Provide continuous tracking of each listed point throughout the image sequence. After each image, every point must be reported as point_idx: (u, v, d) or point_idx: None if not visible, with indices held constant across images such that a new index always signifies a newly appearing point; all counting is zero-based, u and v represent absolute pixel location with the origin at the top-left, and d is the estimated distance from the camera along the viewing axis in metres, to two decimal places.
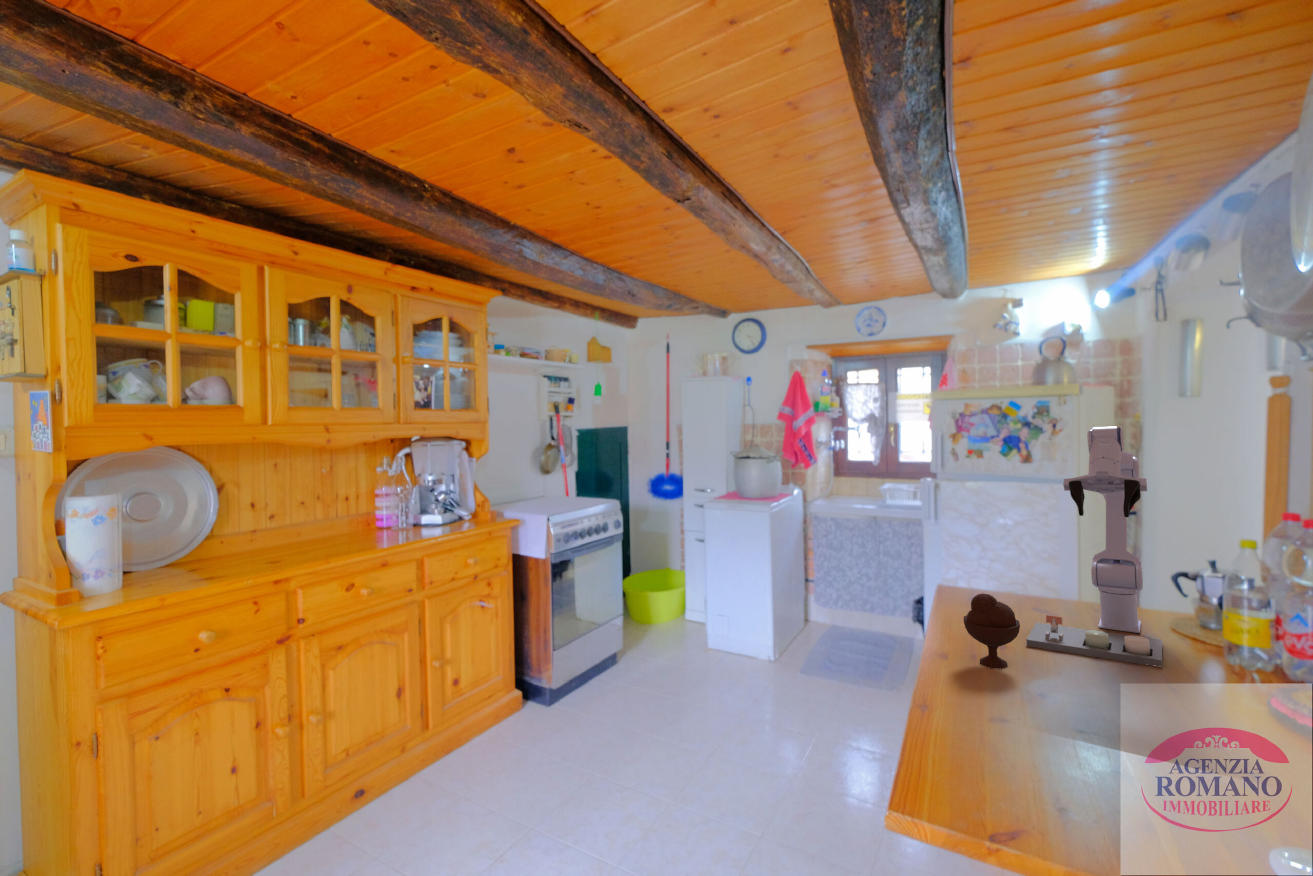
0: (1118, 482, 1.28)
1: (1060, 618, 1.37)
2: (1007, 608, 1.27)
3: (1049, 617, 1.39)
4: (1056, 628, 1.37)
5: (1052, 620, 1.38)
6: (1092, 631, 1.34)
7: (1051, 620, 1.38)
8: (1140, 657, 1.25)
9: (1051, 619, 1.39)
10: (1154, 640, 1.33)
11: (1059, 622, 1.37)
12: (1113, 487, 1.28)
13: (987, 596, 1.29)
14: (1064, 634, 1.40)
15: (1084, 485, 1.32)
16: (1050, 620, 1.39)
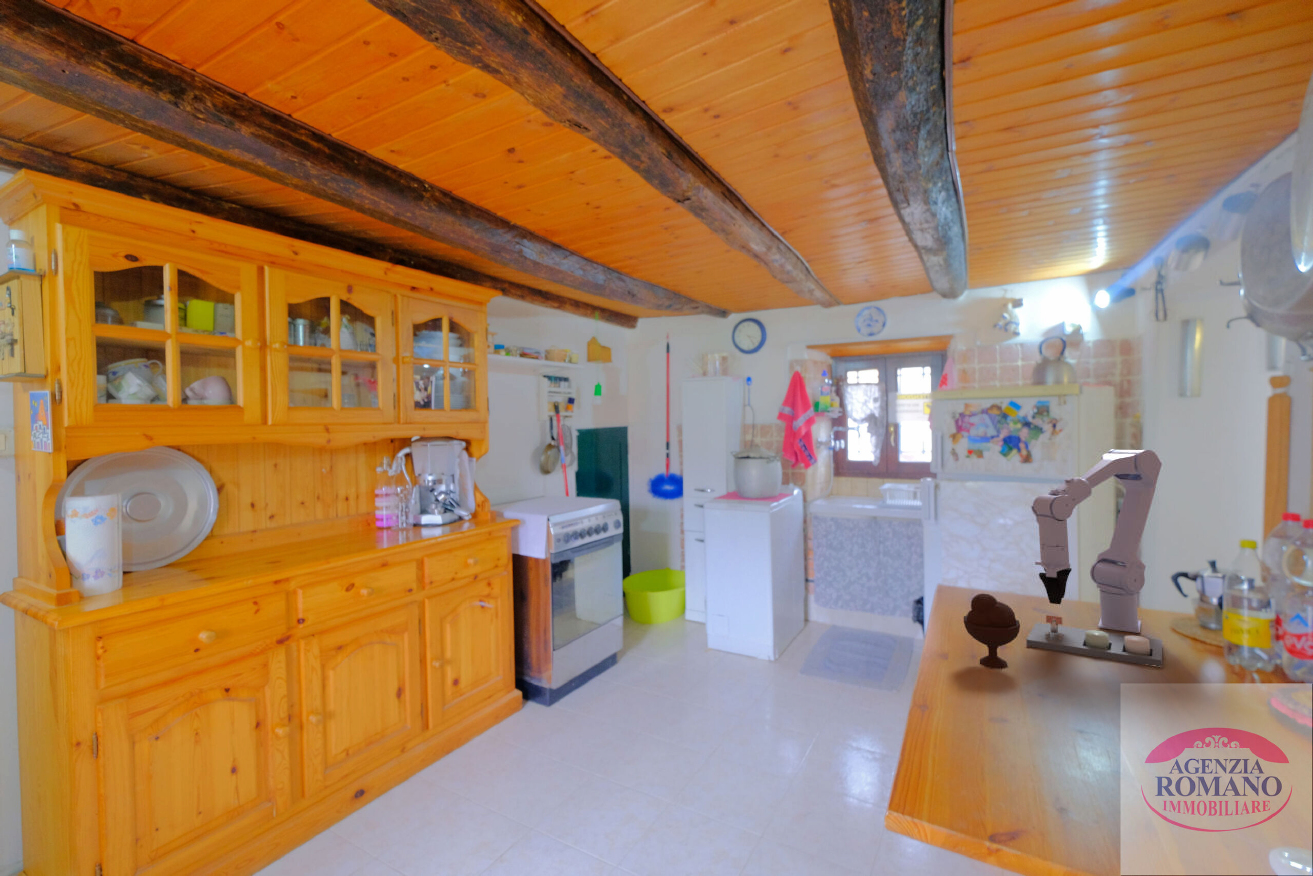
0: None
1: (1060, 618, 1.37)
2: (1007, 608, 1.27)
3: (1049, 617, 1.39)
4: (1056, 628, 1.37)
5: (1052, 620, 1.38)
6: (1092, 631, 1.34)
7: (1051, 620, 1.38)
8: (1140, 657, 1.25)
9: (1051, 619, 1.39)
10: (1154, 640, 1.33)
11: (1059, 622, 1.37)
12: None
13: (987, 596, 1.29)
14: (1064, 634, 1.40)
15: None
16: (1050, 620, 1.39)
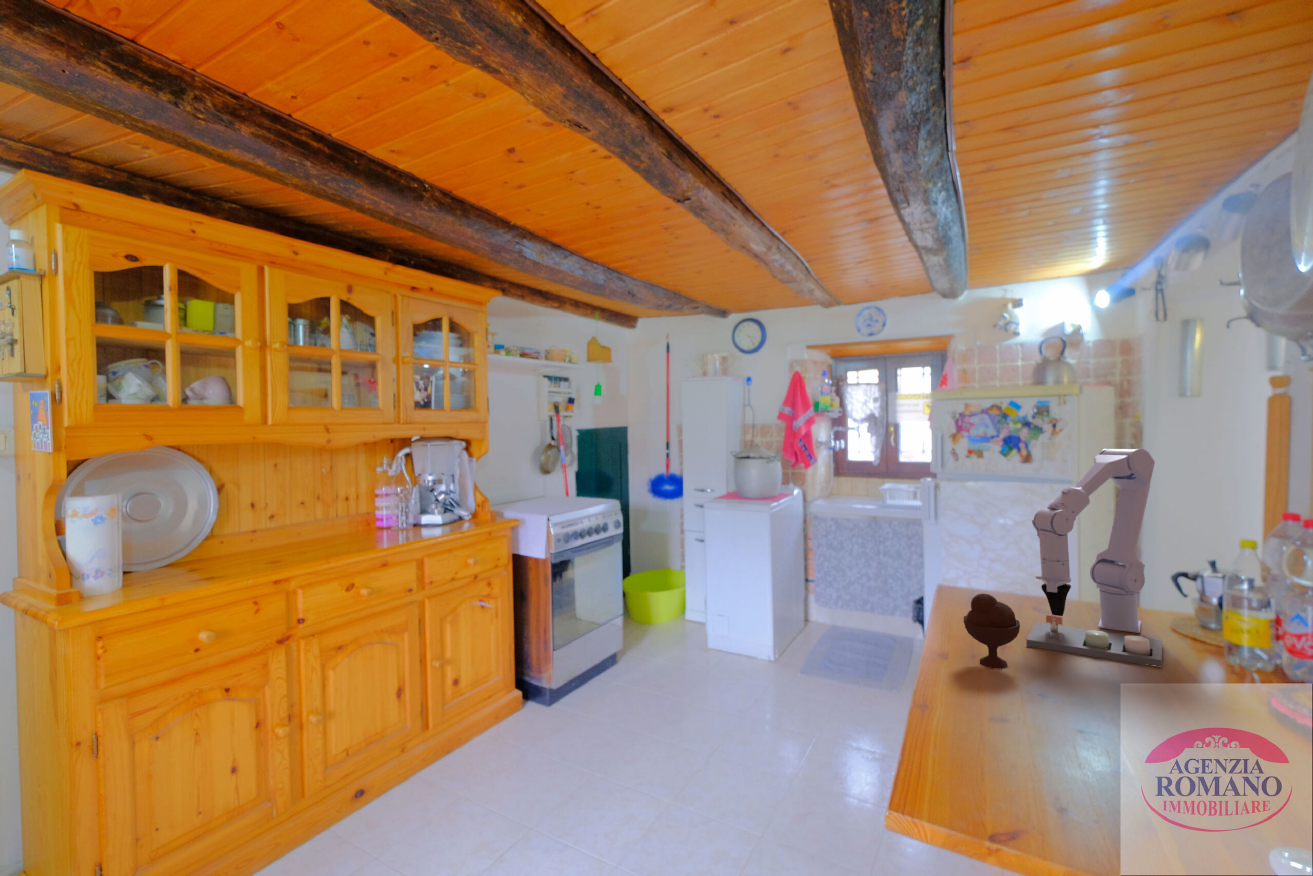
0: None
1: (1060, 618, 1.37)
2: (1007, 608, 1.27)
3: (1049, 617, 1.39)
4: (1056, 628, 1.37)
5: (1052, 620, 1.38)
6: (1092, 631, 1.34)
7: (1051, 620, 1.38)
8: (1140, 657, 1.25)
9: (1051, 619, 1.39)
10: (1154, 640, 1.33)
11: (1059, 622, 1.37)
12: None
13: (987, 596, 1.29)
14: (1064, 634, 1.40)
15: None
16: (1050, 620, 1.39)
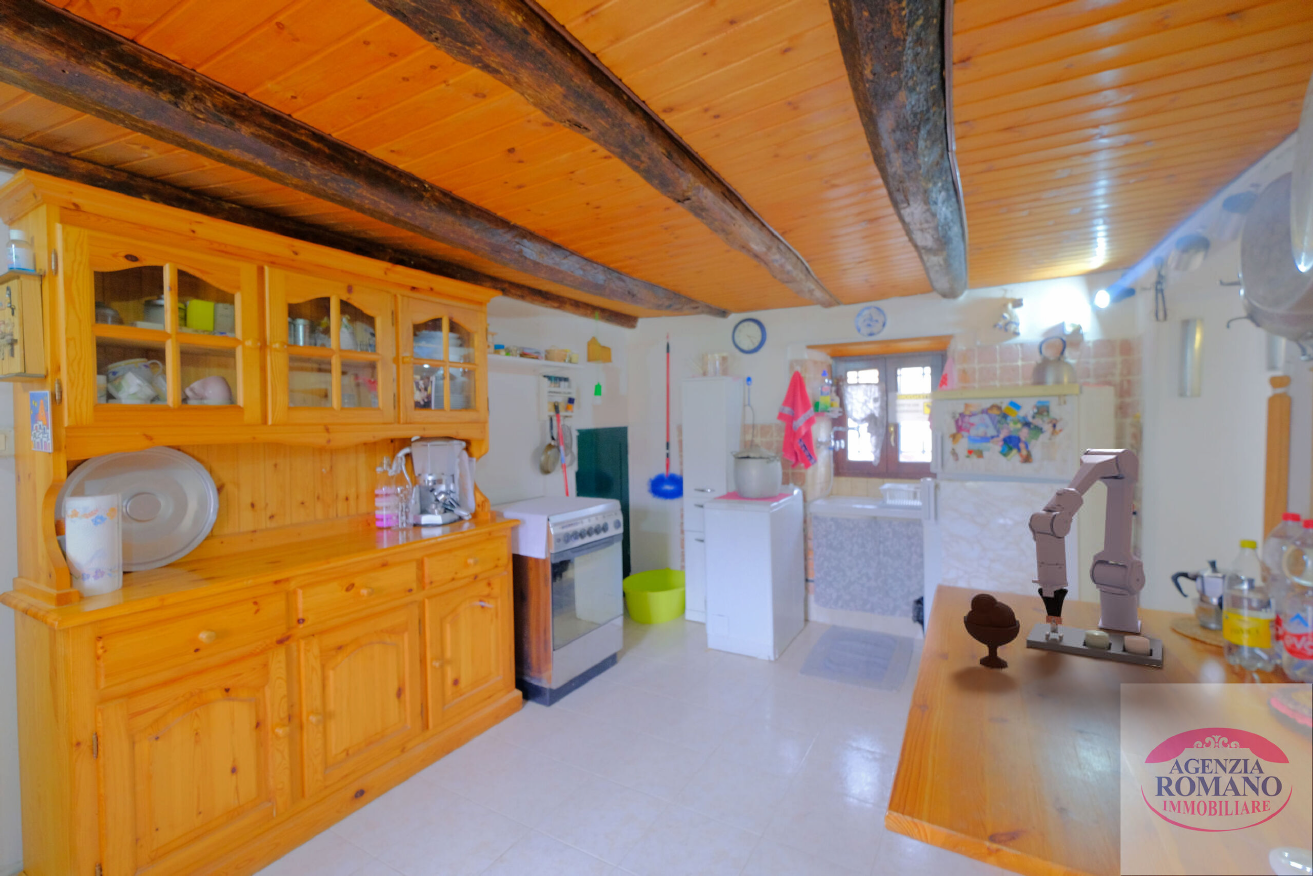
0: None
1: (1060, 618, 1.37)
2: (1007, 608, 1.27)
3: (1049, 617, 1.39)
4: (1056, 628, 1.37)
5: (1052, 620, 1.38)
6: (1092, 631, 1.34)
7: (1051, 620, 1.38)
8: (1140, 657, 1.25)
9: (1050, 619, 1.39)
10: (1154, 640, 1.33)
11: (1059, 622, 1.37)
12: None
13: (987, 596, 1.29)
14: (1064, 634, 1.40)
15: None
16: (1050, 620, 1.38)
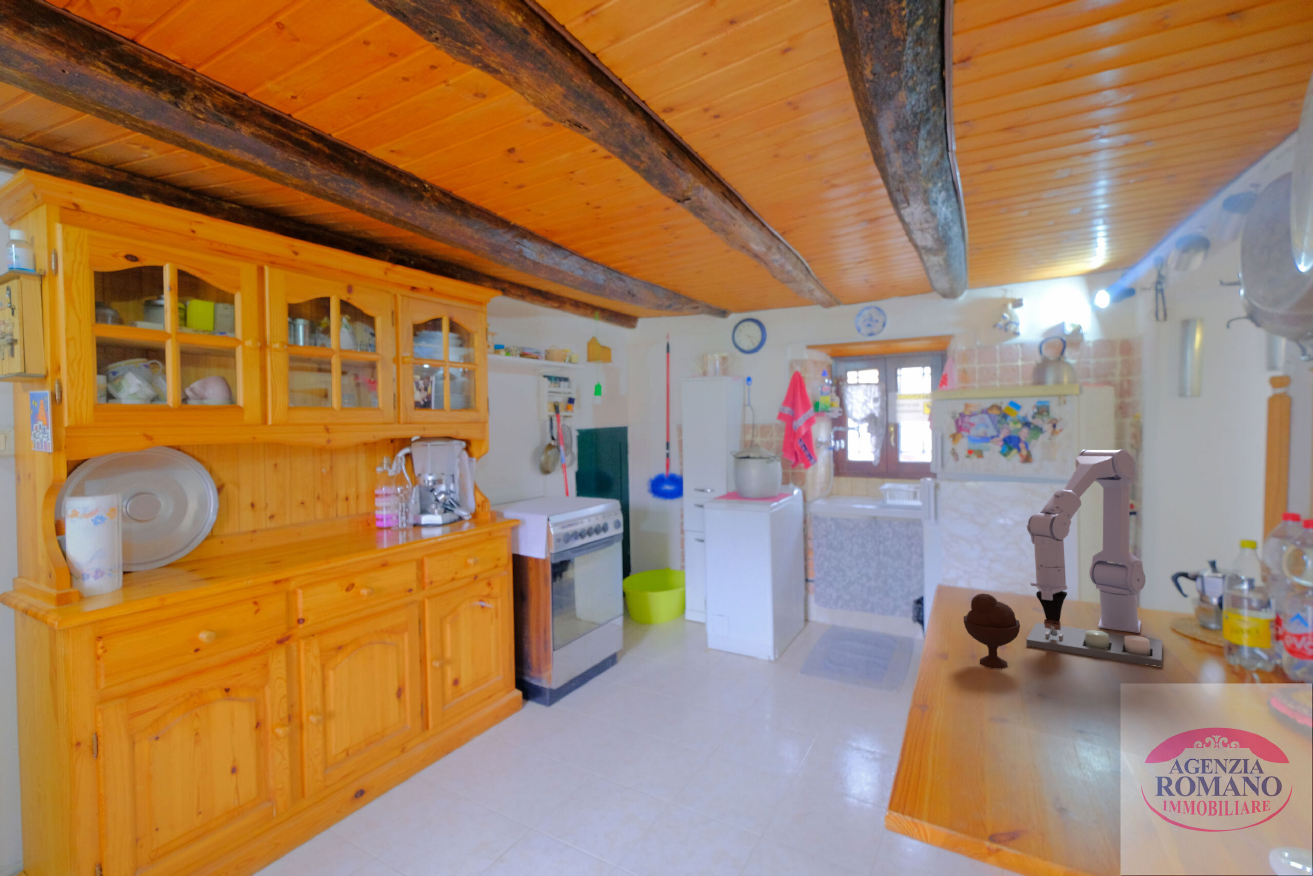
0: None
1: (1058, 625, 1.35)
2: (1007, 608, 1.27)
3: (1047, 624, 1.36)
4: (1055, 632, 1.36)
5: (1050, 627, 1.36)
6: (1092, 631, 1.34)
7: (1049, 627, 1.36)
8: (1140, 657, 1.25)
9: (1049, 625, 1.36)
10: (1154, 640, 1.33)
11: (1058, 628, 1.35)
12: None
13: (987, 596, 1.29)
14: (1064, 634, 1.40)
15: None
16: (1048, 626, 1.36)
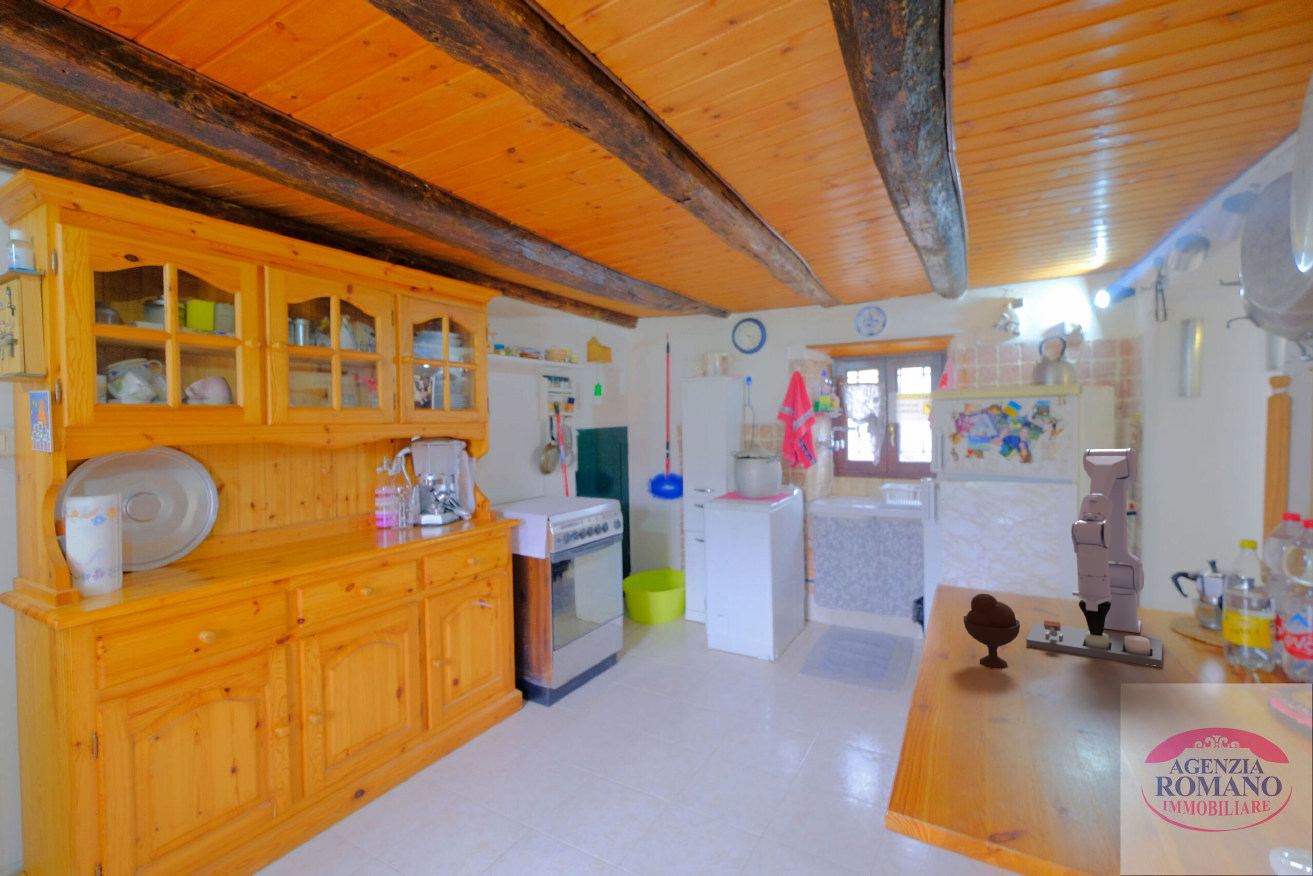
0: None
1: (1058, 627, 1.35)
2: (1007, 608, 1.27)
3: (1047, 626, 1.36)
4: (1055, 633, 1.36)
5: (1050, 628, 1.36)
6: None
7: (1049, 628, 1.36)
8: (1140, 657, 1.25)
9: (1049, 626, 1.36)
10: (1154, 640, 1.33)
11: (1058, 630, 1.35)
12: None
13: (987, 596, 1.29)
14: (1064, 634, 1.40)
15: None
16: (1048, 628, 1.36)
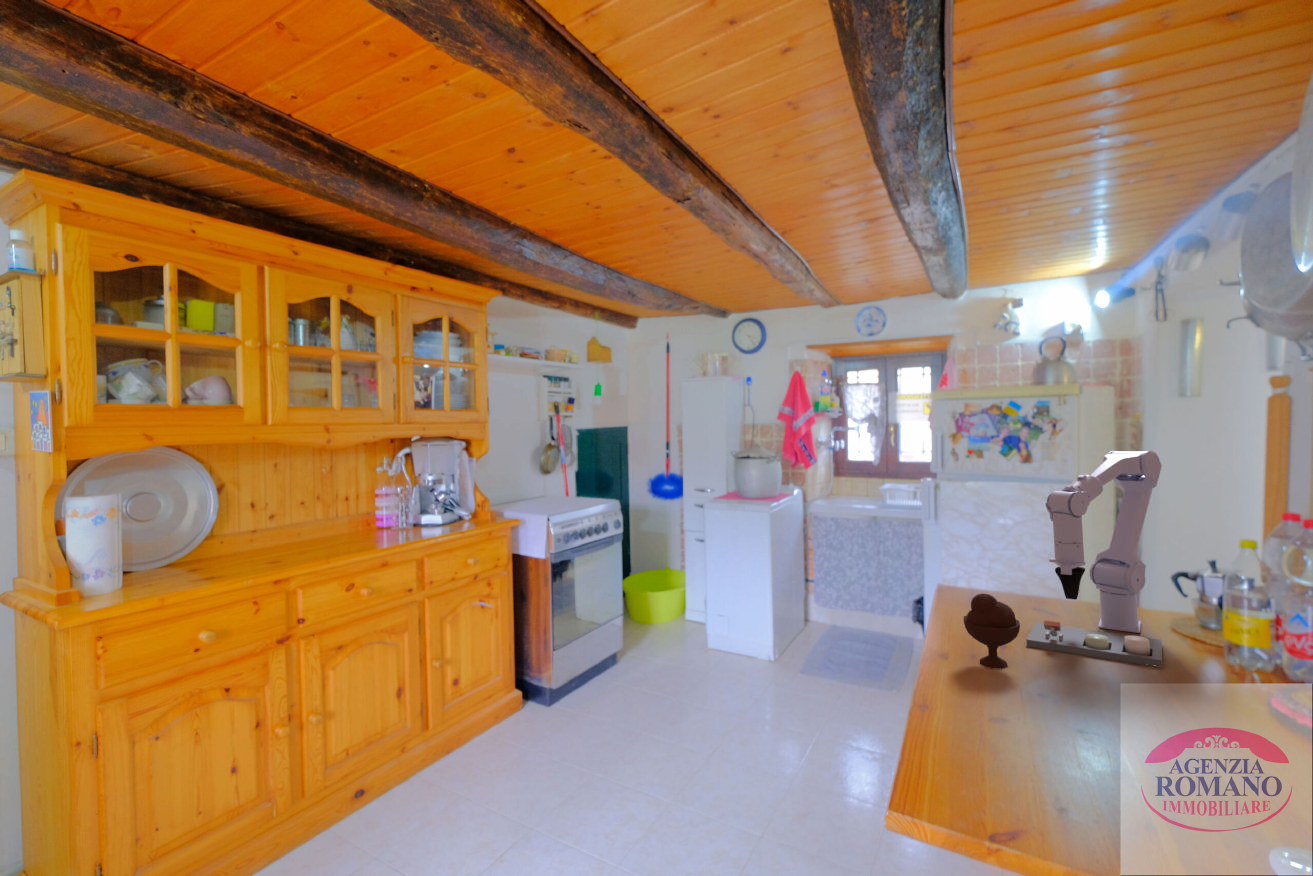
0: None
1: (1058, 627, 1.35)
2: (1007, 608, 1.27)
3: (1047, 626, 1.36)
4: (1055, 633, 1.36)
5: (1050, 628, 1.36)
6: (1092, 635, 1.34)
7: (1049, 628, 1.36)
8: (1140, 657, 1.25)
9: (1049, 626, 1.36)
10: (1154, 640, 1.33)
11: (1058, 630, 1.35)
12: None
13: (987, 596, 1.29)
14: (1064, 634, 1.40)
15: None
16: (1048, 628, 1.36)
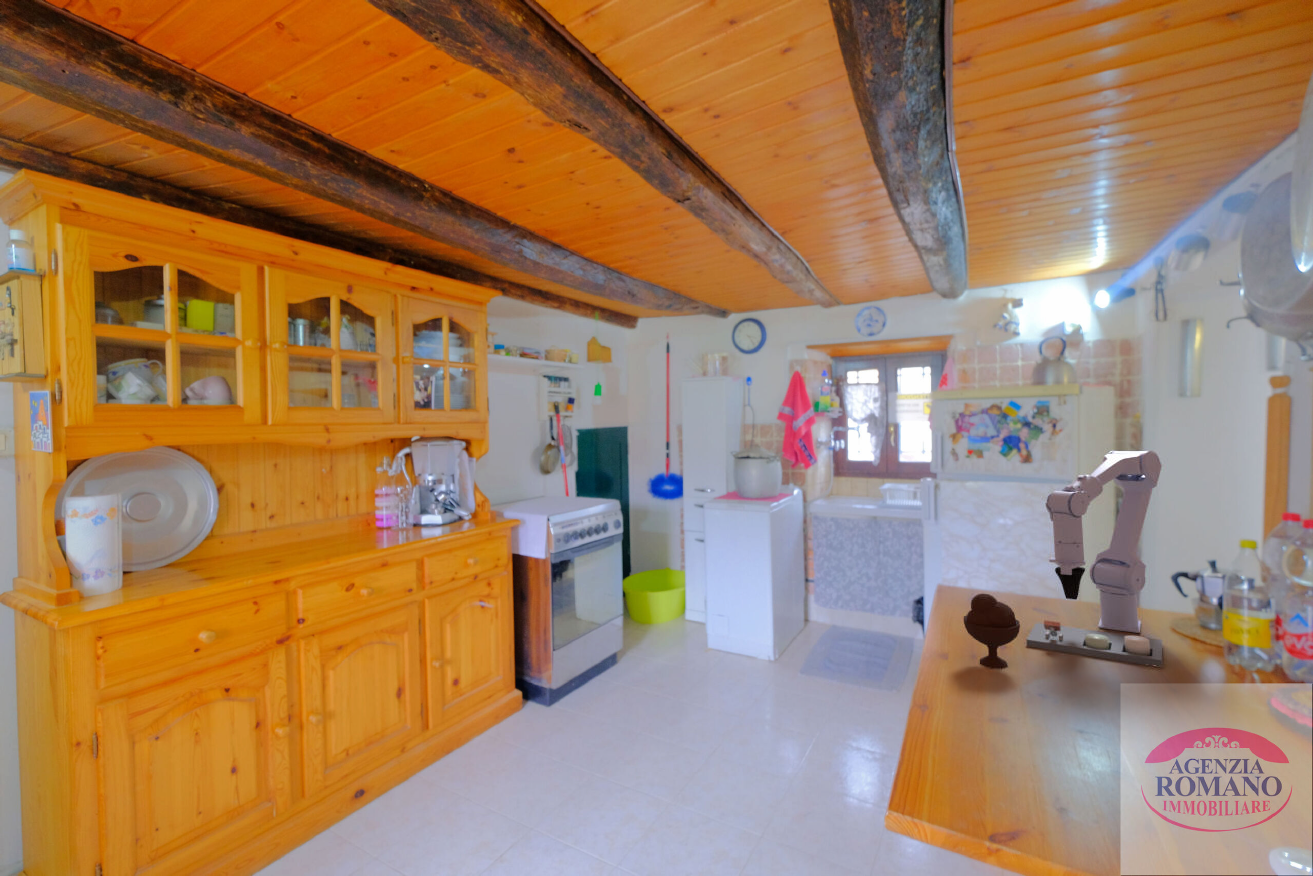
0: None
1: (1058, 627, 1.35)
2: (1007, 608, 1.27)
3: (1047, 626, 1.36)
4: (1055, 633, 1.36)
5: (1050, 628, 1.36)
6: (1092, 635, 1.34)
7: (1049, 628, 1.36)
8: (1140, 657, 1.25)
9: (1049, 626, 1.36)
10: (1154, 640, 1.33)
11: (1058, 630, 1.35)
12: None
13: (987, 596, 1.29)
14: (1064, 634, 1.40)
15: None
16: (1048, 628, 1.36)
